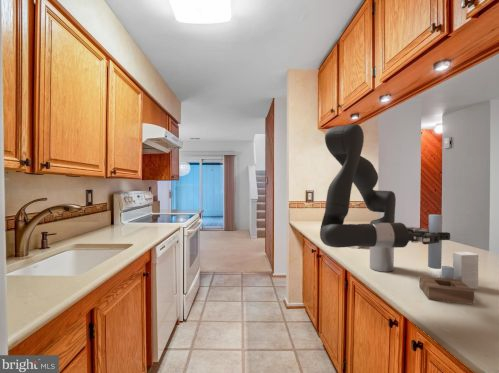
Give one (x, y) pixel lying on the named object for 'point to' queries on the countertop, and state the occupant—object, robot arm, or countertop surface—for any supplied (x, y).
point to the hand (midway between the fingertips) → (444, 234)
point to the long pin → (435, 248)
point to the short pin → (447, 272)
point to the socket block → (446, 290)
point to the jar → (354, 246)
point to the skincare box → (466, 268)
